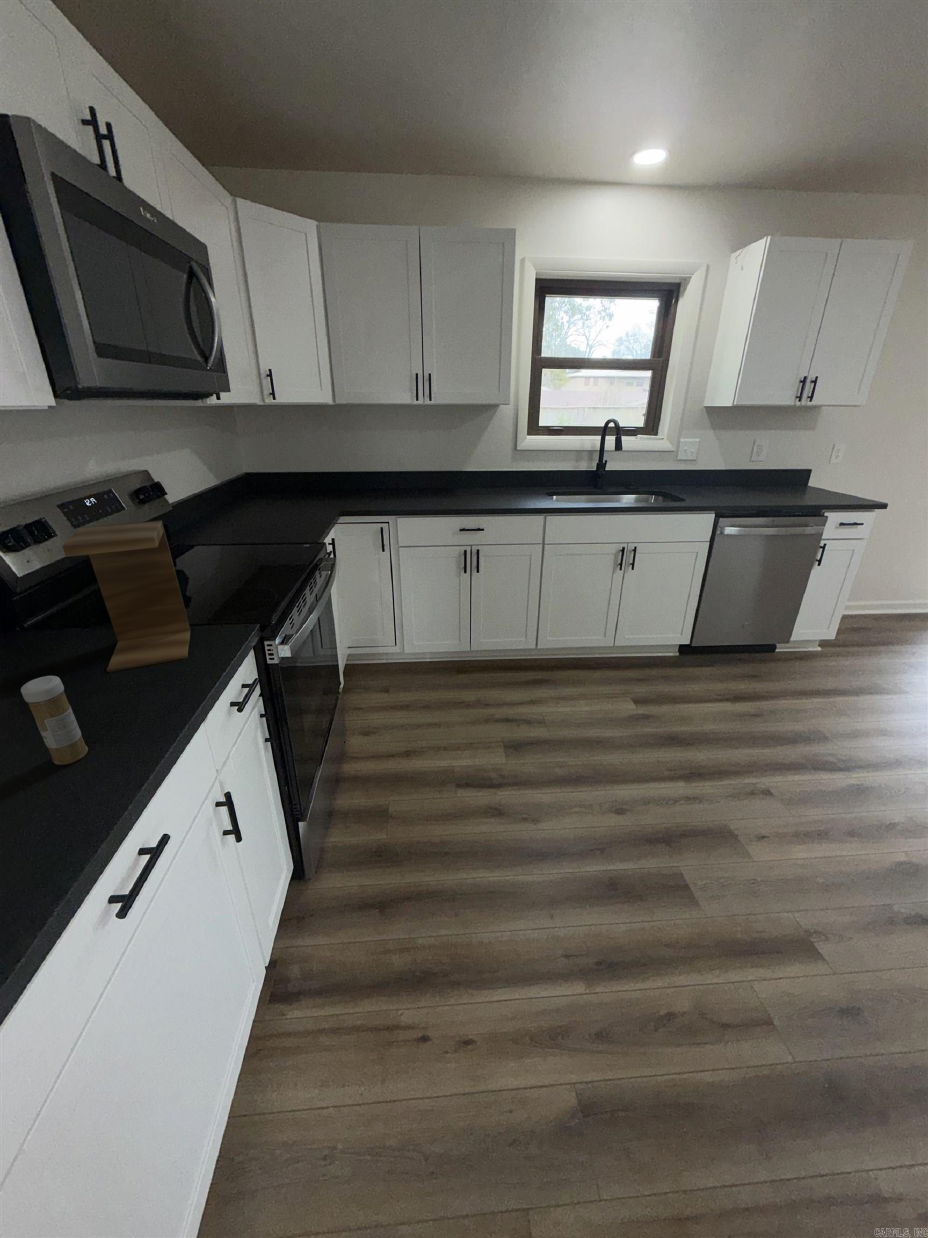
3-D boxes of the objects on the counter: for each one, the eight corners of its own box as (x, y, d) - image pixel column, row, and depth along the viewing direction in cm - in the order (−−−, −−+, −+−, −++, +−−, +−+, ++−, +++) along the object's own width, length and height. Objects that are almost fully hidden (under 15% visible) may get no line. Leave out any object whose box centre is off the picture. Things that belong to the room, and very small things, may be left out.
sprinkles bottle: (51, 756, 77) (18, 682, 71) (86, 743, 80) (57, 671, 74) (55, 771, 74) (21, 695, 68) (91, 757, 77) (61, 683, 71)
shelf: (189, 664, 102) (154, 536, 91) (109, 678, 97) (62, 545, 86) (192, 636, 114) (161, 520, 103) (121, 647, 109) (81, 527, 97)
